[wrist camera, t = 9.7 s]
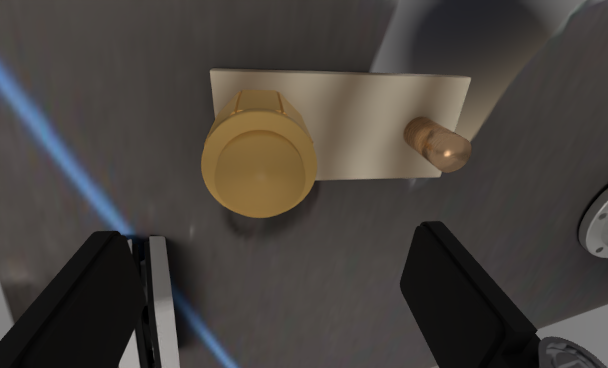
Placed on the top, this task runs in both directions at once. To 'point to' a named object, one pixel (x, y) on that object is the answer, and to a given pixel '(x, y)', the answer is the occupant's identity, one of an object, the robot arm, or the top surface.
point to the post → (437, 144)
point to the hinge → (153, 312)
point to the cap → (259, 155)
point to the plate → (356, 115)
